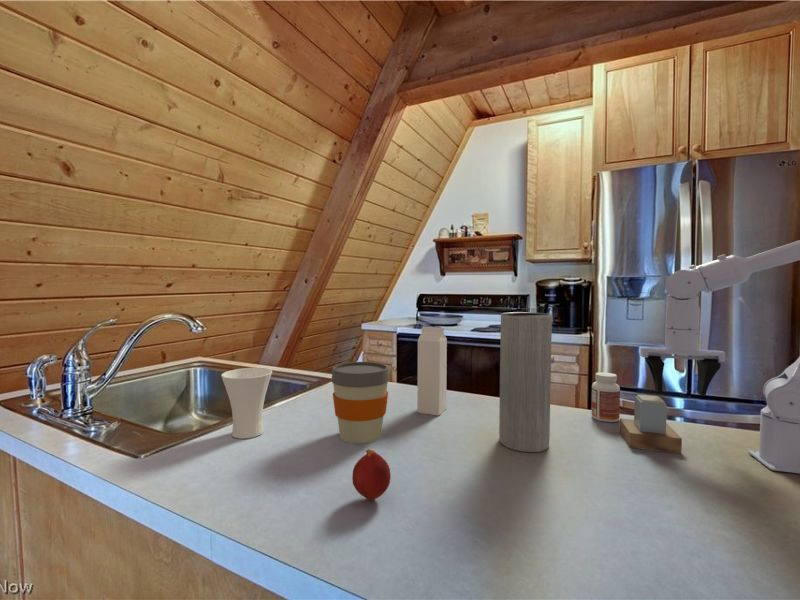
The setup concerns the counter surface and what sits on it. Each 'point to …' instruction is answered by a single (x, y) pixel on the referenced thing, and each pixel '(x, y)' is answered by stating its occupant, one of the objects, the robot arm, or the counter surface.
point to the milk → (432, 371)
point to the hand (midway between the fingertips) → (679, 393)
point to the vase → (525, 381)
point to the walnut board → (650, 438)
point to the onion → (371, 475)
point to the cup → (247, 399)
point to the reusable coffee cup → (360, 400)
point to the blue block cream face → (650, 414)
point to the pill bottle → (605, 397)
